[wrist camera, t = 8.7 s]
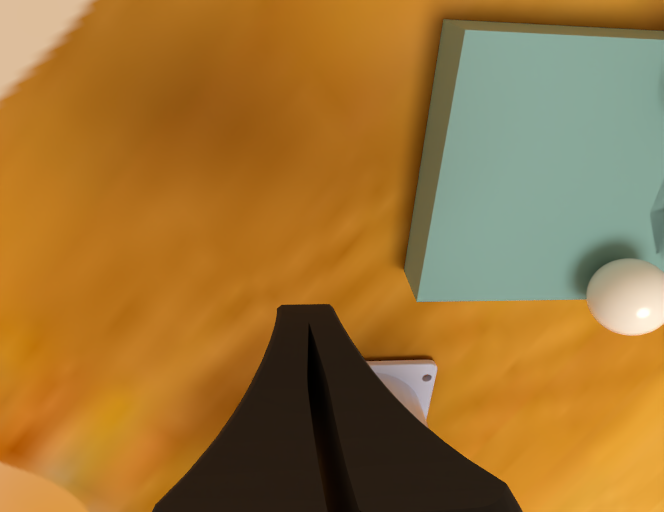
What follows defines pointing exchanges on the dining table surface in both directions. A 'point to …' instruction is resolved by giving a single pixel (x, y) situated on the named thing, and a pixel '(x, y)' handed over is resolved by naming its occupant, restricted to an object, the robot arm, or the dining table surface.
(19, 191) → the dining table surface
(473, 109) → the bearing plate
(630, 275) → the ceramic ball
